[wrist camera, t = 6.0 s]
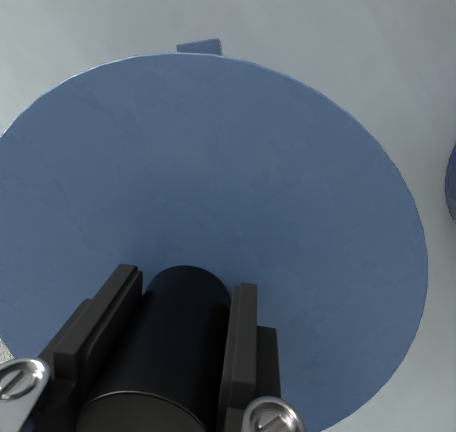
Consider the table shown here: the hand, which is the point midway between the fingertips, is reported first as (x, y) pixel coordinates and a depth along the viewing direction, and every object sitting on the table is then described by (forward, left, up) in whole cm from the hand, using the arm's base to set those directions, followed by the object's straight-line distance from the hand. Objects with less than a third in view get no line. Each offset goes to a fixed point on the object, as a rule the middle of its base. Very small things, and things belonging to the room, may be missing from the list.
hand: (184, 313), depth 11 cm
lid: (0, 0, -1) cm, 1 cm away
